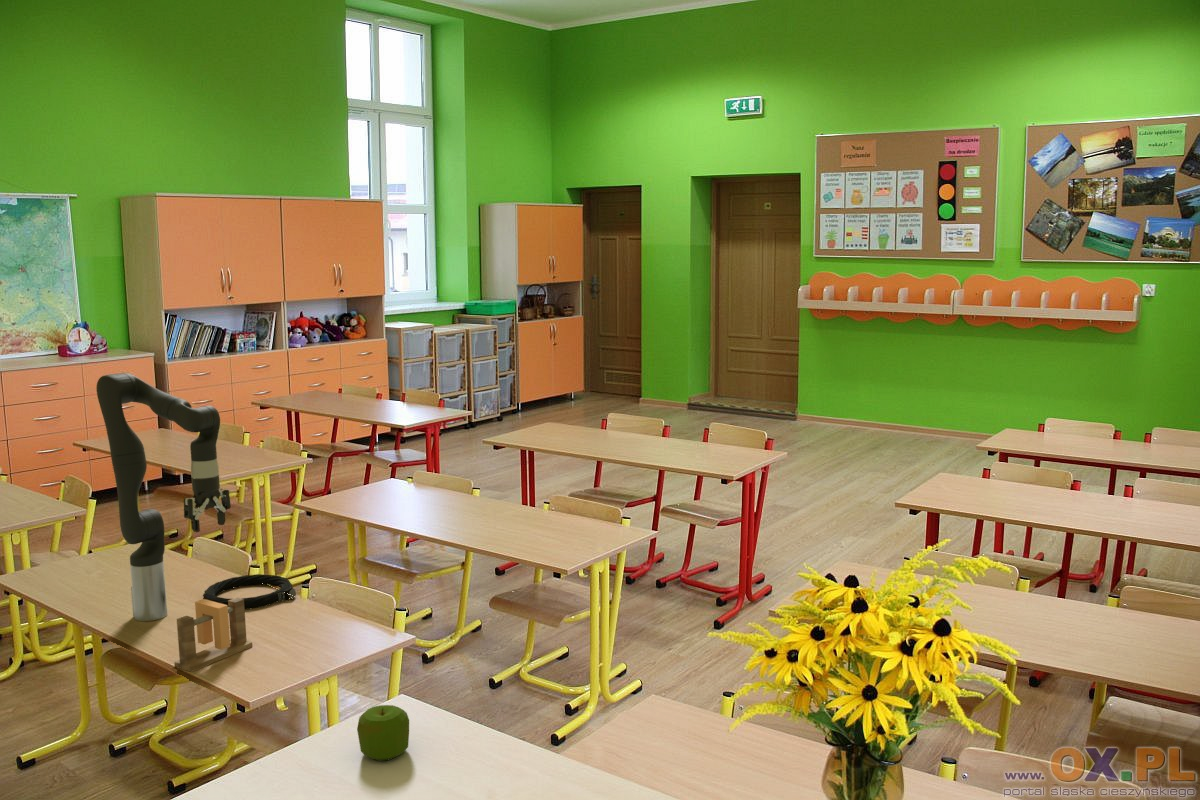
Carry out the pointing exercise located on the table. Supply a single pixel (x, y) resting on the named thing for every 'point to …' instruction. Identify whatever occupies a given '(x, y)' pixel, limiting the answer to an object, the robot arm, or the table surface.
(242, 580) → the cable lock
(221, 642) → the orange block
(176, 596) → the table surface
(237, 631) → the rail
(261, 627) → the table surface
